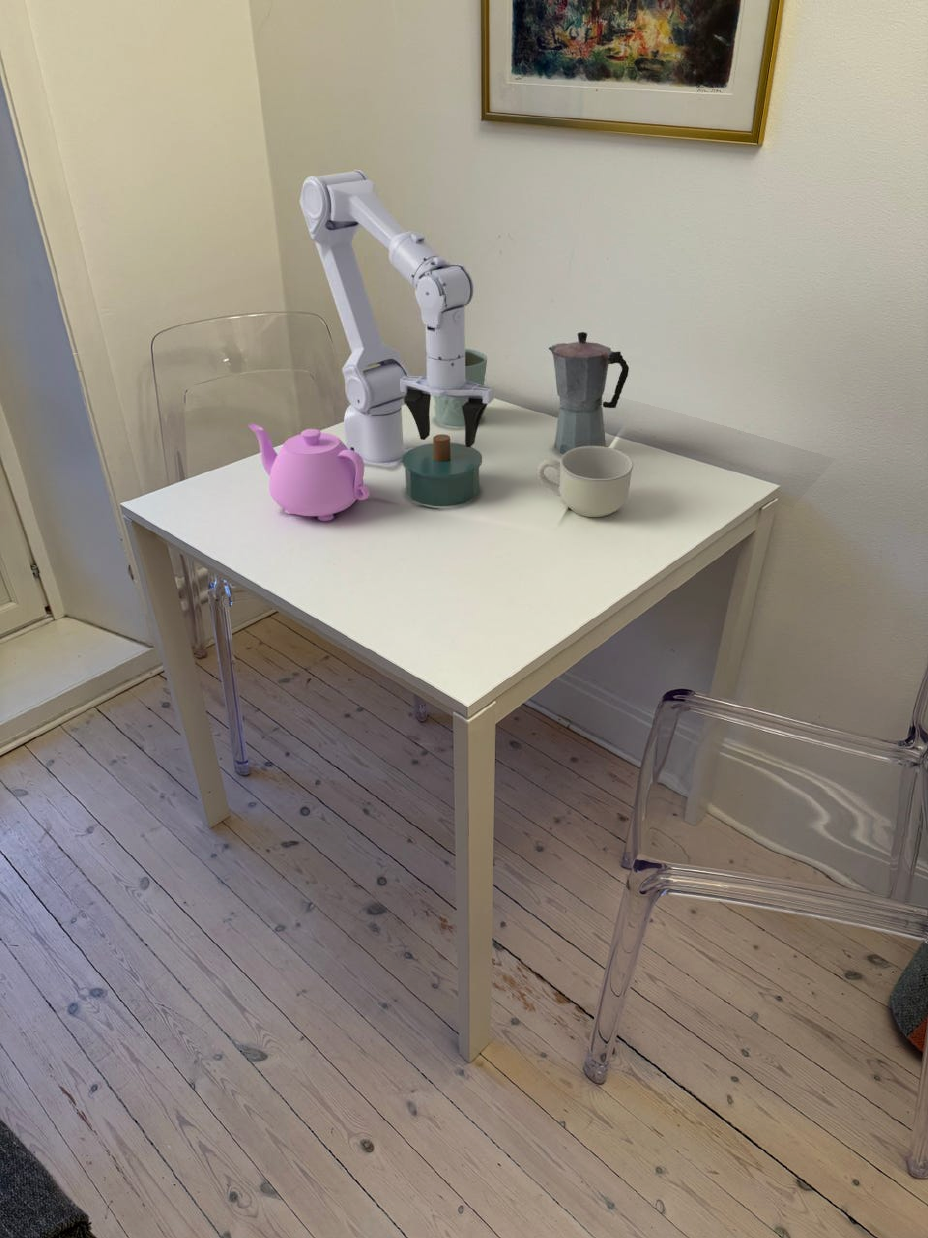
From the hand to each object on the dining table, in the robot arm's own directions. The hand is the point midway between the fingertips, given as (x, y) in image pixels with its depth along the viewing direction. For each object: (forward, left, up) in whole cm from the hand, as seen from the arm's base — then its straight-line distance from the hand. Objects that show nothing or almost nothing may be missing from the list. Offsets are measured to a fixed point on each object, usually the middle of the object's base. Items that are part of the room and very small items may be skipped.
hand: (447, 440), depth 138 cm
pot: (0, -2, -8) cm, 8 cm away
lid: (0, -2, -2) cm, 3 cm away
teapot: (-17, -13, -8) cm, 23 cm away
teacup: (+22, +1, -8) cm, 23 cm away
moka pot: (+16, +22, -8) cm, 28 cm away
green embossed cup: (-9, +27, -8) cm, 29 cm away
